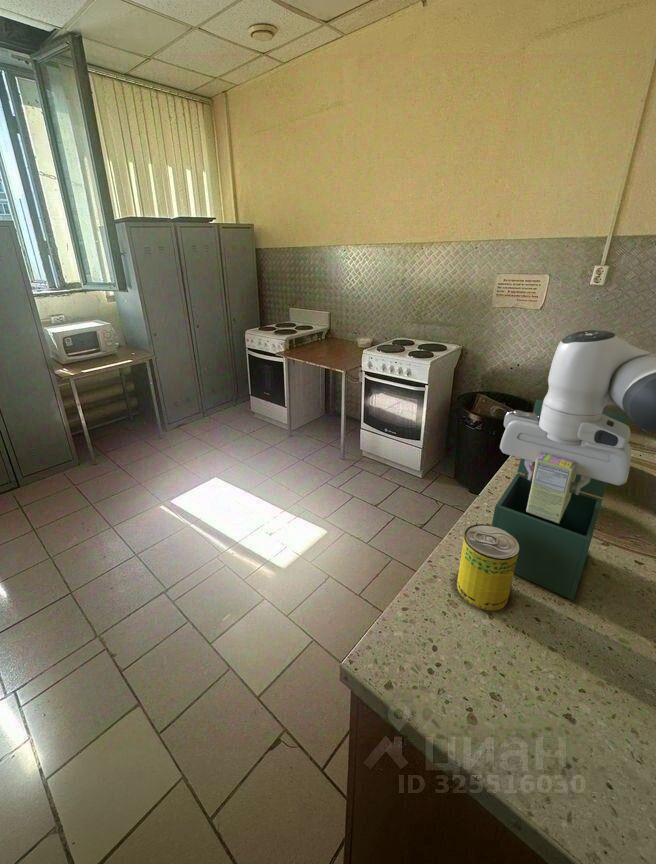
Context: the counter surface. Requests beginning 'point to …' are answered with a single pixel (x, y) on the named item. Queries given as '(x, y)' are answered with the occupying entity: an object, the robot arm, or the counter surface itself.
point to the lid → (592, 487)
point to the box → (551, 487)
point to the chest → (548, 537)
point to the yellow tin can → (487, 566)
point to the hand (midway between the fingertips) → (552, 486)
